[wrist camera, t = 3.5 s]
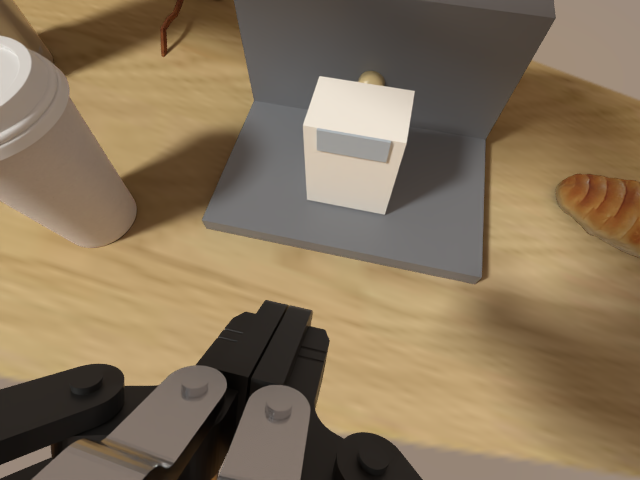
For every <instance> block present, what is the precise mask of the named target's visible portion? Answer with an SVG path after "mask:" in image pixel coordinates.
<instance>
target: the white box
mask: <svg viewBox="0 0 640 480" xmlns="http://www.w3.org/2000/svg"><path fill="white" fill-rule="evenodd" d="M414 93H415V91H412V90H405V89H399V88H393V87H386V86H380V85H373V84H367V83H361V82H354V81H348V80H342V79H335V78H329V77H322V76H319V79H318V82H317V85H316V88H315V91H314V94H313V97H312V100H311V103H310V106H309V109H308V111H307V114H306V117H305V120H304V123H303V138H304V155H305V173H306V190H307V200H311V201H317V202H322V203H327V204H332V205H337V206H342V207H348V208H353V209H358V210H363V211H368V212H373V213H379V214H384V215H385V212H386V209H387V206H388V202H389V199H390V196H391V193H392V189H393V186H394V183H395V179H396V176H397V173H398V170H399V166H400V163H401V160H402V157H403V153H404V150H405V147H406V144H407V137H408V131H409V125H410V118H411V112H412V106H413V99H414Z"/></svg>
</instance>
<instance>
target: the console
mask: <svg viewBox="0 0 640 480" xmlns="http://www.w3.org/2000/svg"><path fill="white" fill-rule="evenodd" d="M234 4H235V9H236V14H237V19H238V24H239V29H240V34H241V39H242V44H243V48H244V53H245V58H246V63H247V68H248V73H249V78H250V83H251V88H252V93H253V98H254V102H253V104H252V107H251V109H250V111H249V114H248V116H247V118H246V120H245V123H244V125H243V127H242V129H241V132H240V134H239V136H238V139H237V141H236V143H235V145H234V148H233V150H232V152H231V155H230V157H229V159H228V161H227V164H226V166H225V168H224V171H223V173H222V175H221V177H220V180H219V182H218V184H217V187H216V189H215V191H214V193H213V196H212V198H211V200H210V202H209V205H208V207H207V209H206V212H205V214H204V216H203V218H202V221H203V223H204V225H205V227H206V228H207V229H212V230H217V231H221V232H226V233H231V234H236V235H241V236H246V237H250V238H255V239H260V240H265V241H270V242H274V243H279V244H284V245H289V246H294V247H298V248H303V249H308V250H313V251H318V252H323V253H327V254H332V255H337V256H342V257H347V258H351V259H356V260H361V261H366V262H371V263H375V264H380V265H385V266H390V267H395V268H400V269H404V270H409V271H414V272H419V273H424V274H428V275H433V276H438V277H443V278H448V279H452V280H457V281H462V282H467V283H472V284H475V283H477V282H478V281H479V280H480V279H481V278H482V252H483V215H484V179H485V143H486V138H487V136H488V134H489V133H490V131H491V129H492V127H493V126H494V124H495V122H496V121H497V119H498V117H499V115H500V114H501V112H502V110H503V108H504V107H505V105H506V103H507V102H508V100H509V98H510V96H511V95H512V93H513V91H514V89H515V88H516V86H517V84H518V82H519V81H520V79H521V77H522V76H523V74H524V72H525V70H526V69H527V67H528V65H529V63H530V62H531V60H532V58H533V56H534V55H535V53H536V51H537V49H538V48H539V46H540V44H541V42H542V41H543V39H544V37H545V36H546V34H547V32H548V31H549V29H550V27H551V25H552V23H553V22H554V20H555V18H556V17H555V8H554V0H234ZM319 76H322V77H329V78H335V79H342V80H348V81H354V82H361V83H367V84H373V85H380V86H386V87H393V88H399V89H405V90H412V91H415V93H414V99H413V106H412V112H411V118H410V125H409V131H408V137H407V144H406V147H405V150H404V153H403V157H402V160H401V163H400V166H399V170H398V173H397V176H396V179H395V183H394V186H393V189H392V193H391V196H390V199H389V202H388V206H387V209H386V212H385V215H384V214H379V213H373V212H368V211H363V210H358V209H353V208H348V207H342V206H337V205H332V204H327V203H322V202H317V201H311V200H307V190H306V173H305V155H304V138H303V123H304V120H305V117H306V114H307V111H308V109H309V106H310V103H311V100H312V97H313V94H314V91H315V88H316V85H317V82H318V79H319Z"/></svg>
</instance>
